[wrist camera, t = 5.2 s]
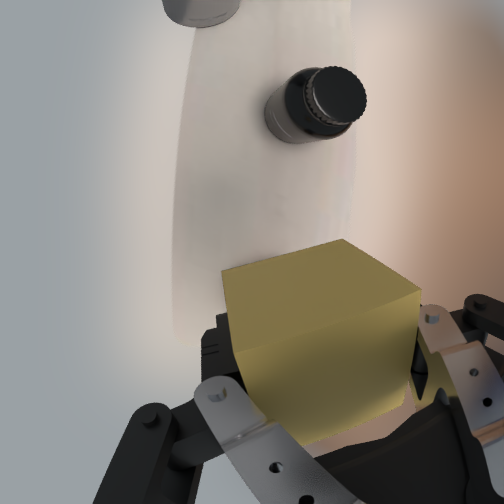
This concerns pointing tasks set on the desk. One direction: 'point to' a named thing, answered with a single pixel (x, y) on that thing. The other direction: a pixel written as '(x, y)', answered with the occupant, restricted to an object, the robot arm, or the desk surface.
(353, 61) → the desk surface
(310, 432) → the top block
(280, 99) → the supplement bottle
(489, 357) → the robot arm
